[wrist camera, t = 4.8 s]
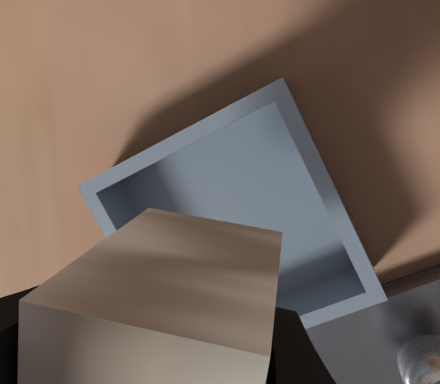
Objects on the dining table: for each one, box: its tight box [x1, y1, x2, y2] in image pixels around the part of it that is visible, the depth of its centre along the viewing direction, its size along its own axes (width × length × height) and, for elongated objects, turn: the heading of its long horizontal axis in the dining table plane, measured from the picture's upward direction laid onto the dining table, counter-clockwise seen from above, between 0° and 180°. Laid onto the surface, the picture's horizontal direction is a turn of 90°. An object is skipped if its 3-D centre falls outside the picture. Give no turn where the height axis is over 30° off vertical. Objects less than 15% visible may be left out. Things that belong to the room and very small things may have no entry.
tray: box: [77, 77, 388, 329], centre depth 18 cm, size 9×9×3 cm
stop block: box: [17, 208, 283, 384], centre depth 10 cm, size 4×4×6 cm
